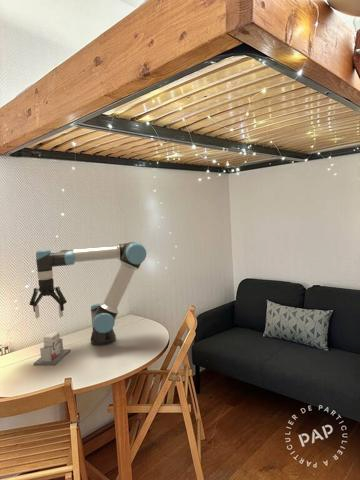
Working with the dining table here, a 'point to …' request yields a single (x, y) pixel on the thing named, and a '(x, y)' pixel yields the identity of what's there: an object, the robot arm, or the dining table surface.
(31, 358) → the dining table surface
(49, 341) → the ink box
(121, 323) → the dining table surface
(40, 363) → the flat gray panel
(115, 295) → the robot arm
